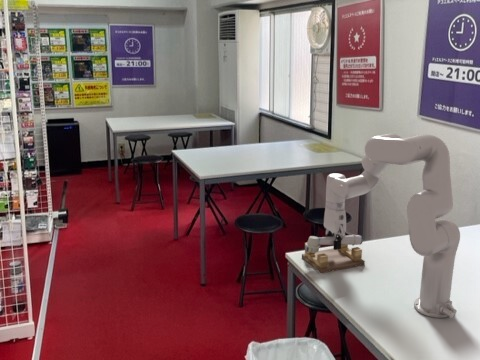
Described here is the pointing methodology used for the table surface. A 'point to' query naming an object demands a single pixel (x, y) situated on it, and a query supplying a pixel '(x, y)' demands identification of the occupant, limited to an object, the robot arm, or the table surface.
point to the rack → (334, 258)
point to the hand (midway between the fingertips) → (333, 246)
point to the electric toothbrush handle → (331, 242)
